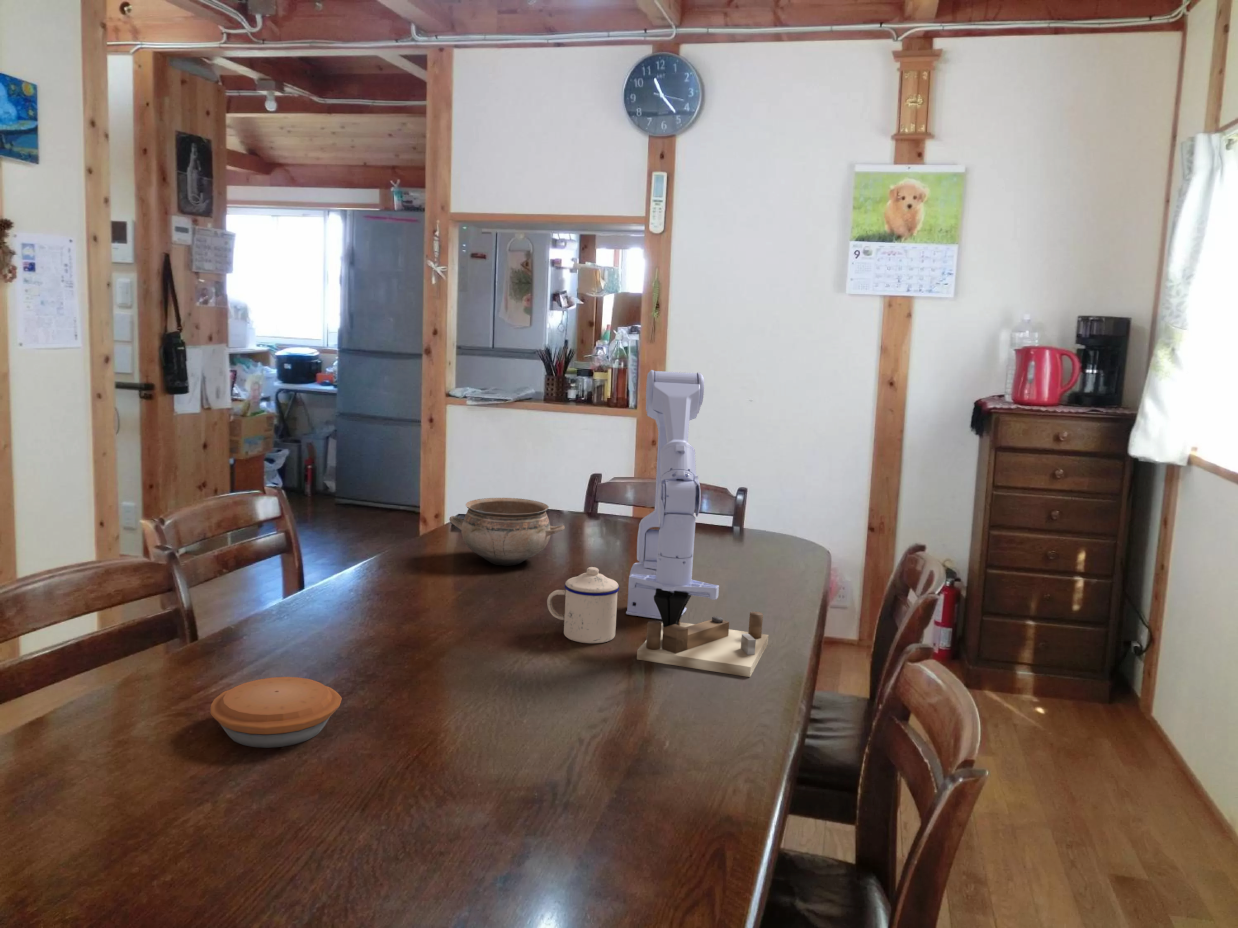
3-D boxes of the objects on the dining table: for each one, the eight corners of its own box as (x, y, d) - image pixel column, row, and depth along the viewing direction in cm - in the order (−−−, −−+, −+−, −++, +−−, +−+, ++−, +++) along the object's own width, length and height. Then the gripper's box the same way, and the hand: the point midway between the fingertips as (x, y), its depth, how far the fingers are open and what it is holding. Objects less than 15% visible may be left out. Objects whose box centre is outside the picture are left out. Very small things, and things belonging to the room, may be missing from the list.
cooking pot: (571, 556, 222) (573, 502, 220) (553, 577, 204) (556, 518, 202) (461, 546, 226) (463, 493, 224) (434, 567, 207) (436, 508, 205)
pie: (266, 768, 116) (266, 727, 115) (183, 732, 124) (182, 694, 123) (366, 725, 128) (367, 688, 128) (285, 696, 137) (285, 660, 136)
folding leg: (714, 631, 169) (716, 611, 168) (728, 635, 167) (729, 615, 167) (661, 648, 159) (663, 627, 158) (675, 653, 157) (677, 631, 156)
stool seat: (636, 659, 158) (638, 624, 157) (664, 628, 174) (666, 597, 174) (750, 676, 153) (752, 641, 152) (767, 644, 169) (770, 611, 168)
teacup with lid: (620, 630, 172) (624, 564, 171) (611, 647, 163) (615, 577, 162) (552, 623, 174) (555, 557, 173) (539, 639, 165) (542, 570, 164)
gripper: (624, 553, 159) (620, 636, 161) (714, 565, 155) (708, 649, 157) (637, 544, 166) (632, 624, 168) (723, 555, 162) (717, 636, 164)
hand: (670, 635), depth 163 cm, fingers closed
